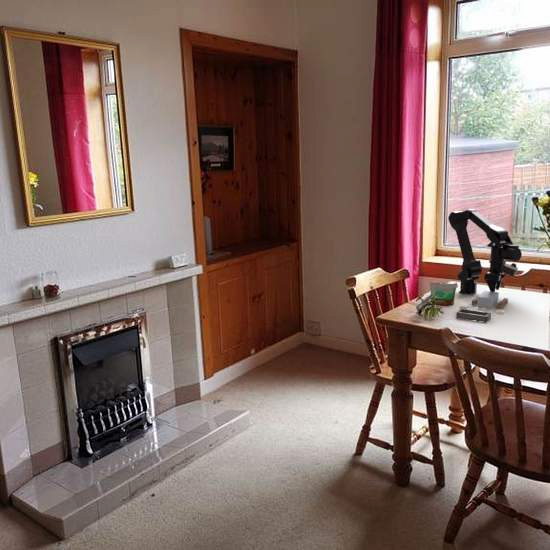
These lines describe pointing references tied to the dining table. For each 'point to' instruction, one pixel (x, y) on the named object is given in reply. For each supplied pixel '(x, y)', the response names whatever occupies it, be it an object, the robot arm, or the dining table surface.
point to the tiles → (496, 311)
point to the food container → (443, 293)
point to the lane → (500, 304)
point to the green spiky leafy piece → (428, 302)
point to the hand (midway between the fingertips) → (495, 291)
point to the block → (487, 299)
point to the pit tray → (473, 315)
